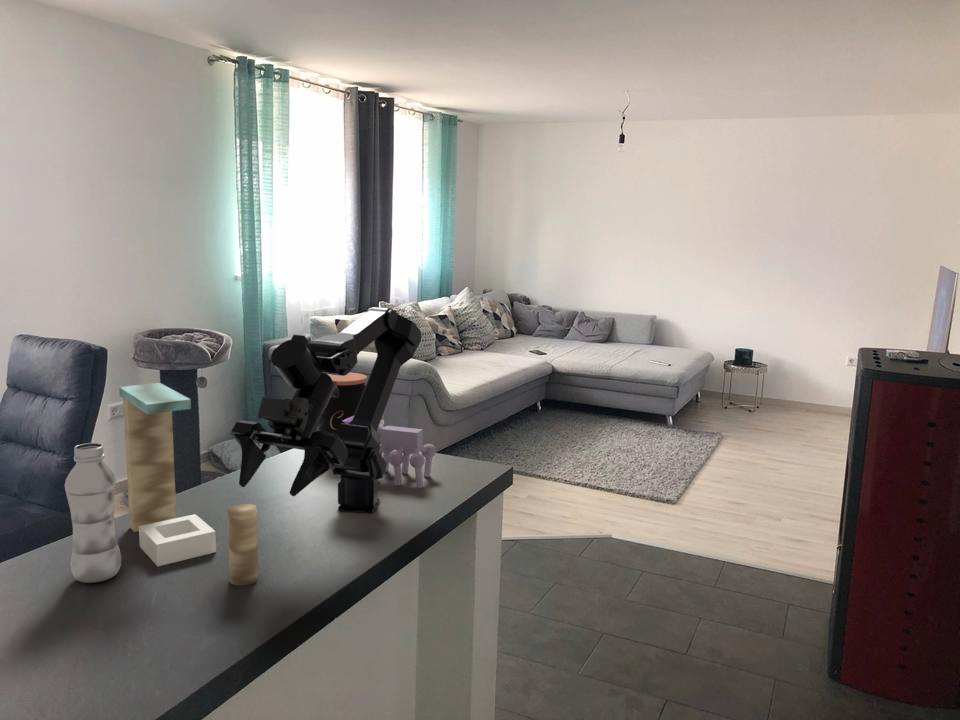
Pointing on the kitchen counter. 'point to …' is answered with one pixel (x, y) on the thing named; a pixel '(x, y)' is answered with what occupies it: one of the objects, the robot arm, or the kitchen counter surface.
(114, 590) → the kitchen counter surface
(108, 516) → the plastic bottle
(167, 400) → the tall textured pillar
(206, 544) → the socket
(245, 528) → the peg
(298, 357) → the robot arm
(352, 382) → the coffee jar
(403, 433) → the toy sheep
